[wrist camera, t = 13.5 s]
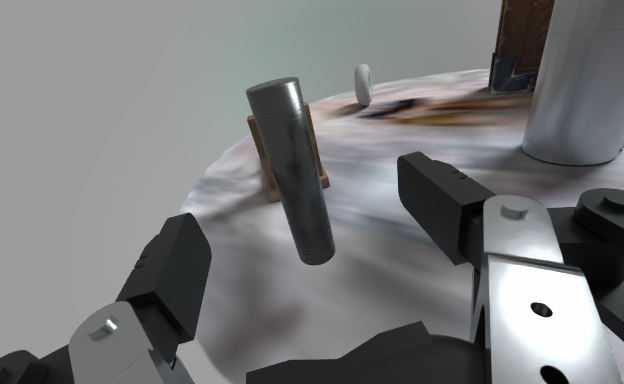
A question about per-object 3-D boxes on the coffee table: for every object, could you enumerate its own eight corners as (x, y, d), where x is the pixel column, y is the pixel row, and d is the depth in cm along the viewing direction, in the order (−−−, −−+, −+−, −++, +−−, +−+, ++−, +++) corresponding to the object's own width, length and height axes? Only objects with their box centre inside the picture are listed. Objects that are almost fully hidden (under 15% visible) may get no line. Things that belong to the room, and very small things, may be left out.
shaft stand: (308, 143, 55) (294, 83, 49) (329, 186, 39) (313, 105, 33) (266, 154, 55) (247, 95, 49) (270, 202, 39) (243, 123, 33)
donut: (361, 100, 74) (357, 61, 69) (374, 98, 73) (371, 59, 68) (356, 111, 67) (351, 69, 61) (370, 110, 65) (366, 66, 60)
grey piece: (303, 162, 36) (277, 58, 29) (339, 258, 20) (301, 81, 14) (282, 168, 36) (250, 65, 29) (301, 269, 20) (244, 96, 13)
